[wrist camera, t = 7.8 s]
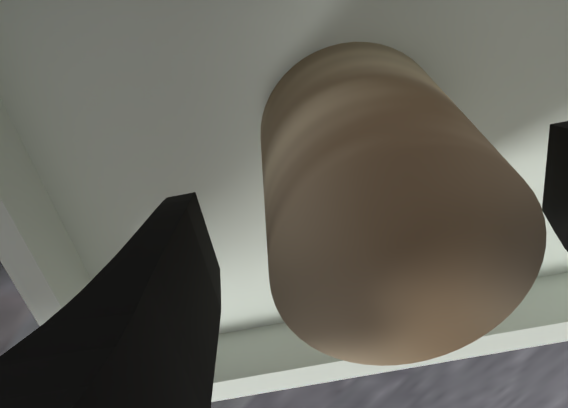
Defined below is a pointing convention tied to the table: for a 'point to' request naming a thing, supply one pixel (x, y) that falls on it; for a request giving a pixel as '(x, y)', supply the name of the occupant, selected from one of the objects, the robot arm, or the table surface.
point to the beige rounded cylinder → (389, 211)
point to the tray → (241, 143)
